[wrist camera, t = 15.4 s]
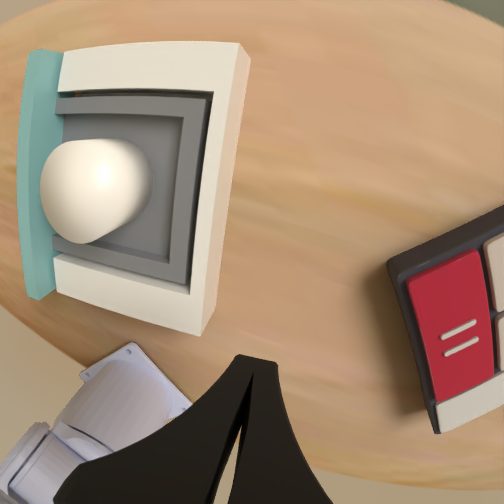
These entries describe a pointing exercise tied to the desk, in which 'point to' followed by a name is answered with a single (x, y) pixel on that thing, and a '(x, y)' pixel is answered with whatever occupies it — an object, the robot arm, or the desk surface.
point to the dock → (212, 183)
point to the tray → (99, 127)
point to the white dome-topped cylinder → (94, 187)
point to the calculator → (456, 318)
